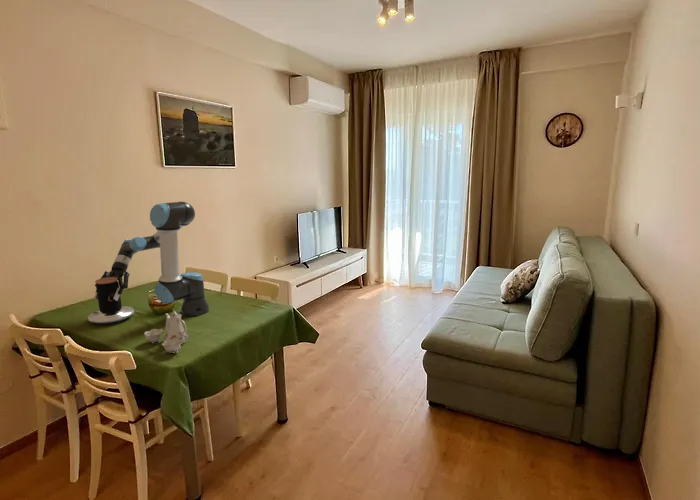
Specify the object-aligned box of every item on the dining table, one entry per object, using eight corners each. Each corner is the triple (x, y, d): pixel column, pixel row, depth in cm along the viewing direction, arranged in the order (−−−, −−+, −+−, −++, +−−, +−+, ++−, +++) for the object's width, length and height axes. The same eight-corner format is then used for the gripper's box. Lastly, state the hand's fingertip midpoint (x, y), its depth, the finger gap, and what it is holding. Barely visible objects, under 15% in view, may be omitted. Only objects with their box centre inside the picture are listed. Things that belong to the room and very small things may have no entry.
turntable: (142, 308, 226) (142, 306, 226) (116, 323, 205) (116, 320, 205) (107, 307, 229) (107, 305, 228) (78, 322, 207) (77, 319, 207)
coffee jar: (111, 314, 210) (107, 282, 206) (95, 313, 212) (90, 281, 209) (126, 307, 220) (122, 277, 217) (110, 306, 223) (106, 276, 219)
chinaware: (139, 346, 187) (131, 315, 182) (170, 331, 200) (164, 301, 195) (174, 362, 172) (166, 328, 167) (205, 344, 185) (199, 312, 180)
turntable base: (134, 314, 224) (134, 310, 224) (115, 325, 209) (115, 321, 208) (109, 313, 226) (108, 310, 226) (88, 324, 210) (87, 320, 210)
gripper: (143, 268, 226) (129, 302, 214) (106, 267, 228) (90, 301, 216) (136, 261, 219) (121, 296, 208) (98, 260, 222) (81, 295, 210)
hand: (105, 299), depth 212 cm, fingers open, 11 cm apart
